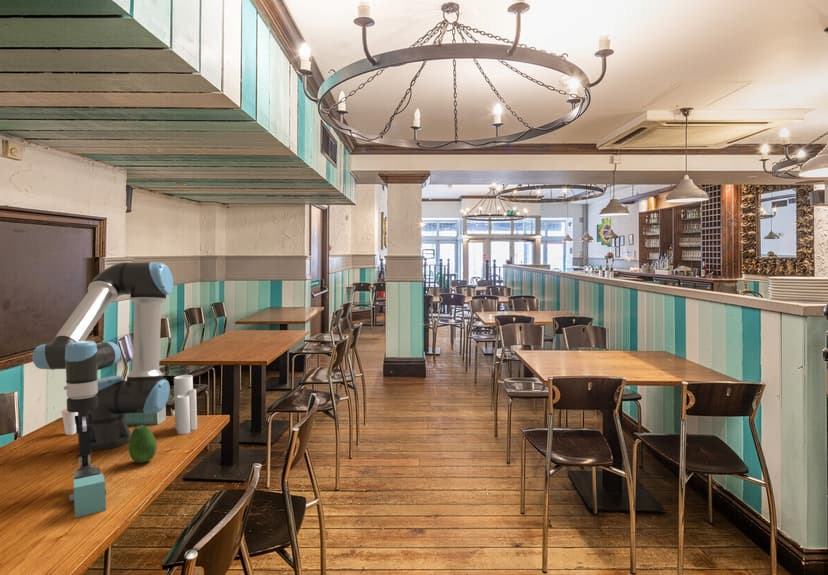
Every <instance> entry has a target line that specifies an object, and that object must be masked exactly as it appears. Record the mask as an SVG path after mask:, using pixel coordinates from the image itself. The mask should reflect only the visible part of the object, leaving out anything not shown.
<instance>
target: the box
mask: <svg viewBox="0 0 828 575" xmlns="http://www.w3.org/2000/svg"><path fill="white" fill-rule="evenodd" d="M166 410H167V408H166V405H165V407H164V408H163V409H162V410H161V411H159V412H157V413H148V414H145V413H139V414H124V418H125V421H126V423H127V426H140V425H144V426H147V425H148V426H149V425H151V426H152V425H153V426H155V425H160V424H161V423H163V422H165V421H166V420H167V411H166Z"/></svg>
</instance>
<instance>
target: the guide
mask: <svg viewBox="0 0 828 575" xmlns="http://www.w3.org/2000/svg"><path fill="white" fill-rule="evenodd" d="M76 471H77V470H76ZM76 471H73V480H75V479H79V478H84V477H89V476H93V475H99V474H102V473H101V469H100V466H97V467H95V468H92V469H87V470H82V471H77V472H76ZM106 495H107V491H106V488H105V496H106ZM68 499H69V504H72V503H74V493H72V494H71V493H70V494H68Z"/></svg>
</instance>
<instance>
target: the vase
mask: <svg viewBox="0 0 828 575" xmlns="http://www.w3.org/2000/svg"><path fill="white" fill-rule="evenodd" d="M193 380H194V376H193V375H191V374H182V375H177V376H174V377H173V384H174V385H173V388H174V390H173V392H174V393H173V394H174V395H173V396H174V423H175V424H174V426H175V430H176V431H177V434H178V435H187V434H190V433H191V431H196V430H198V412H197V407H198V406H197V405H198V404H197V389H196V388H194V383H193V382H194V381H193Z"/></svg>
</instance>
